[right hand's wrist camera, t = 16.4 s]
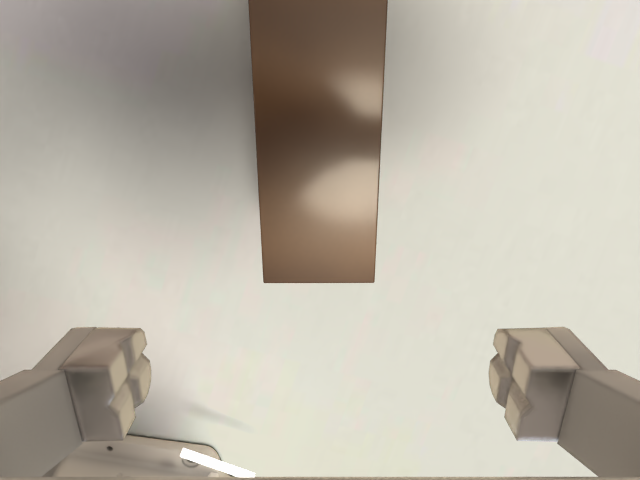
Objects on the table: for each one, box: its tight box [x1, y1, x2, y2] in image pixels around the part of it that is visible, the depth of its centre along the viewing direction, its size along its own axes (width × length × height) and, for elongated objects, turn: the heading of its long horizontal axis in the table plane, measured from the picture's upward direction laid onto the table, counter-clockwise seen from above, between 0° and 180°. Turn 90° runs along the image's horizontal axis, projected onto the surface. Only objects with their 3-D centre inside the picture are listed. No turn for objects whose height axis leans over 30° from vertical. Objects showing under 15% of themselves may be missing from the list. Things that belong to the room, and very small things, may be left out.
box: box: [248, 0, 388, 283], centre depth 25 cm, size 26×6×12 cm, turn 0°
